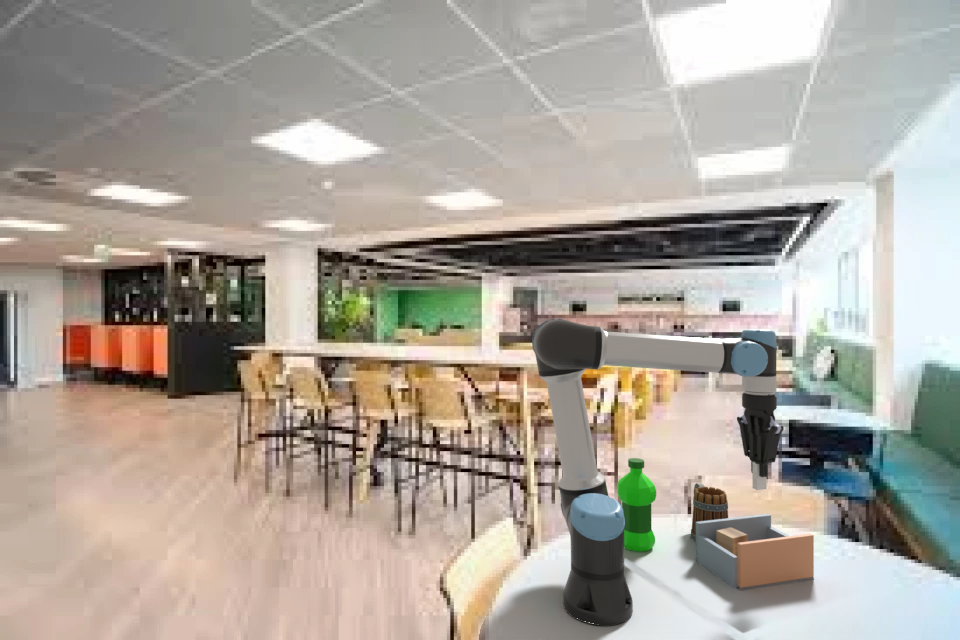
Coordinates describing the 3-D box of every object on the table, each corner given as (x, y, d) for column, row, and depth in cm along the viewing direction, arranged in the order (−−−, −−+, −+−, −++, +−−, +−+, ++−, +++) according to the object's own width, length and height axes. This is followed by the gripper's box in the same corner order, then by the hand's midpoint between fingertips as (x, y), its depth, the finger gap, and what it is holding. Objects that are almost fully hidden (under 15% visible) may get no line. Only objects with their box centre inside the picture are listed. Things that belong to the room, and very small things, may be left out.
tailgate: (741, 592, 122) (740, 544, 122) (737, 590, 123) (737, 542, 123) (813, 581, 127) (813, 535, 127) (809, 579, 128) (809, 533, 128)
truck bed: (733, 594, 123) (733, 544, 123) (695, 566, 137) (695, 521, 137) (811, 582, 128) (811, 534, 128) (767, 556, 142) (767, 513, 142)
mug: (738, 552, 145) (737, 497, 144) (699, 552, 145) (698, 497, 145) (713, 529, 160) (713, 479, 160) (678, 529, 160) (678, 479, 160)
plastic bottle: (651, 543, 151) (651, 455, 150) (659, 560, 140) (658, 466, 140) (615, 541, 152) (615, 454, 152) (620, 558, 142) (619, 465, 141)
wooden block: (733, 575, 129) (733, 538, 129) (716, 566, 134) (716, 530, 133) (747, 570, 131) (747, 534, 131) (730, 562, 136) (730, 527, 135)
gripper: (793, 395, 124) (793, 496, 124) (752, 388, 137) (752, 479, 137) (766, 397, 122) (766, 499, 123) (727, 389, 135) (727, 481, 135)
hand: (759, 488), depth 130 cm, fingers closed
